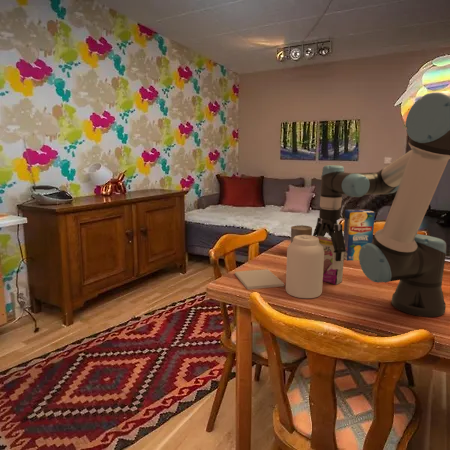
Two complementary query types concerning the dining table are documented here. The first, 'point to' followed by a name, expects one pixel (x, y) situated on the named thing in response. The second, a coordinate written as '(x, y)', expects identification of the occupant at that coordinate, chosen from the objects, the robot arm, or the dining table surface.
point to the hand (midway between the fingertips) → (326, 263)
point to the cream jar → (304, 267)
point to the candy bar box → (330, 262)
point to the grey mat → (258, 279)
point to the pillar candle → (300, 231)
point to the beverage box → (357, 232)
